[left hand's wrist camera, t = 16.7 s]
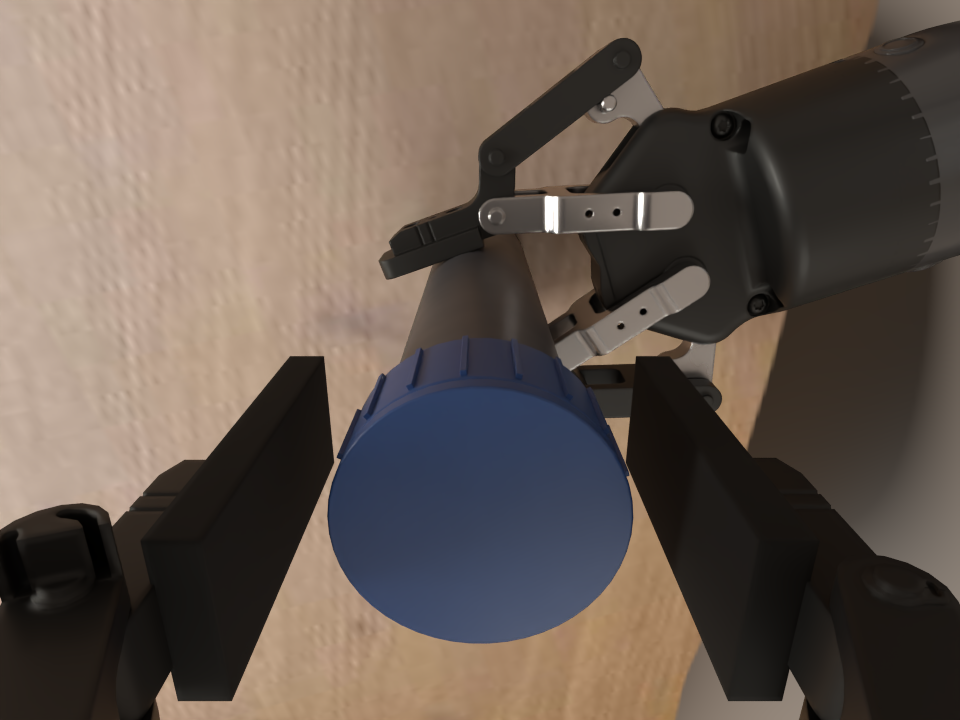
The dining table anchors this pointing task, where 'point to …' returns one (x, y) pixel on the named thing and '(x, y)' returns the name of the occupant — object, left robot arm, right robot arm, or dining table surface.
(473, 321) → the jar
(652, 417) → the left robot arm
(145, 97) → the dining table surface
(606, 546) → the lid
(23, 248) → the dining table surface
